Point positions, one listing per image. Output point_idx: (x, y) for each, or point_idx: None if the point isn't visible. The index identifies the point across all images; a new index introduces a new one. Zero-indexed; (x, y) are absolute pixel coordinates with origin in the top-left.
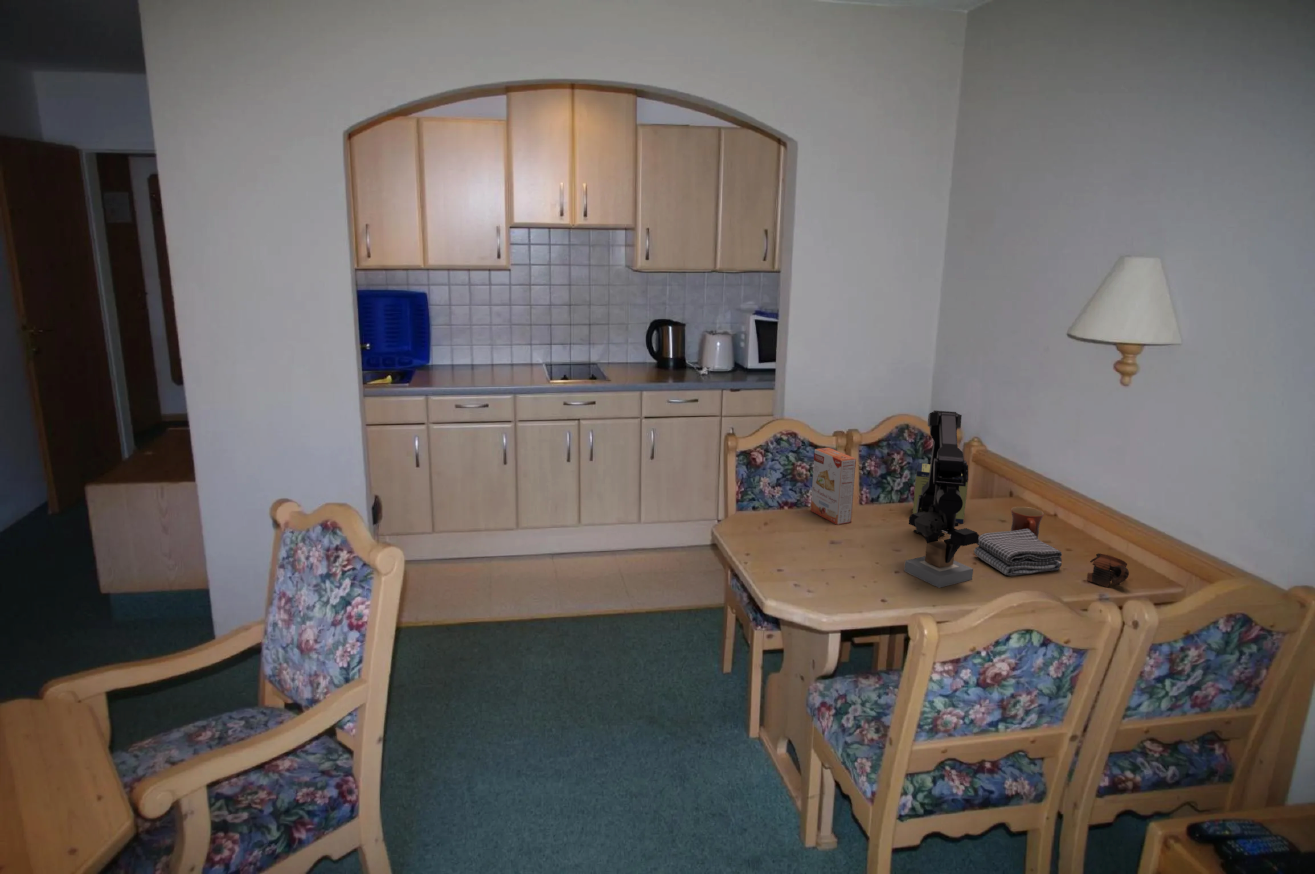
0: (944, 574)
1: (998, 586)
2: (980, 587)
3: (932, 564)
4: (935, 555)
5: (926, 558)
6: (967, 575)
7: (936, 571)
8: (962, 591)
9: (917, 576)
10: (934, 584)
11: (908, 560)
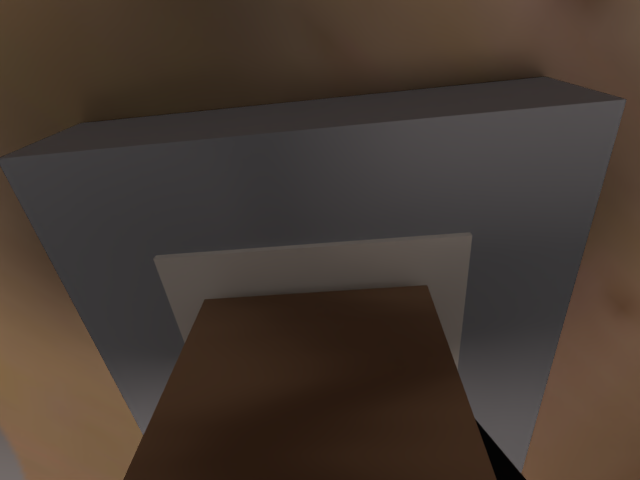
0: (70, 249)
1: (82, 452)
2: (74, 382)
3: (308, 293)
4: (259, 400)
5: (413, 313)
6: None
7: (164, 227)
8: (4, 252)
9: (354, 97)
10: (130, 120)
11: (593, 145)
